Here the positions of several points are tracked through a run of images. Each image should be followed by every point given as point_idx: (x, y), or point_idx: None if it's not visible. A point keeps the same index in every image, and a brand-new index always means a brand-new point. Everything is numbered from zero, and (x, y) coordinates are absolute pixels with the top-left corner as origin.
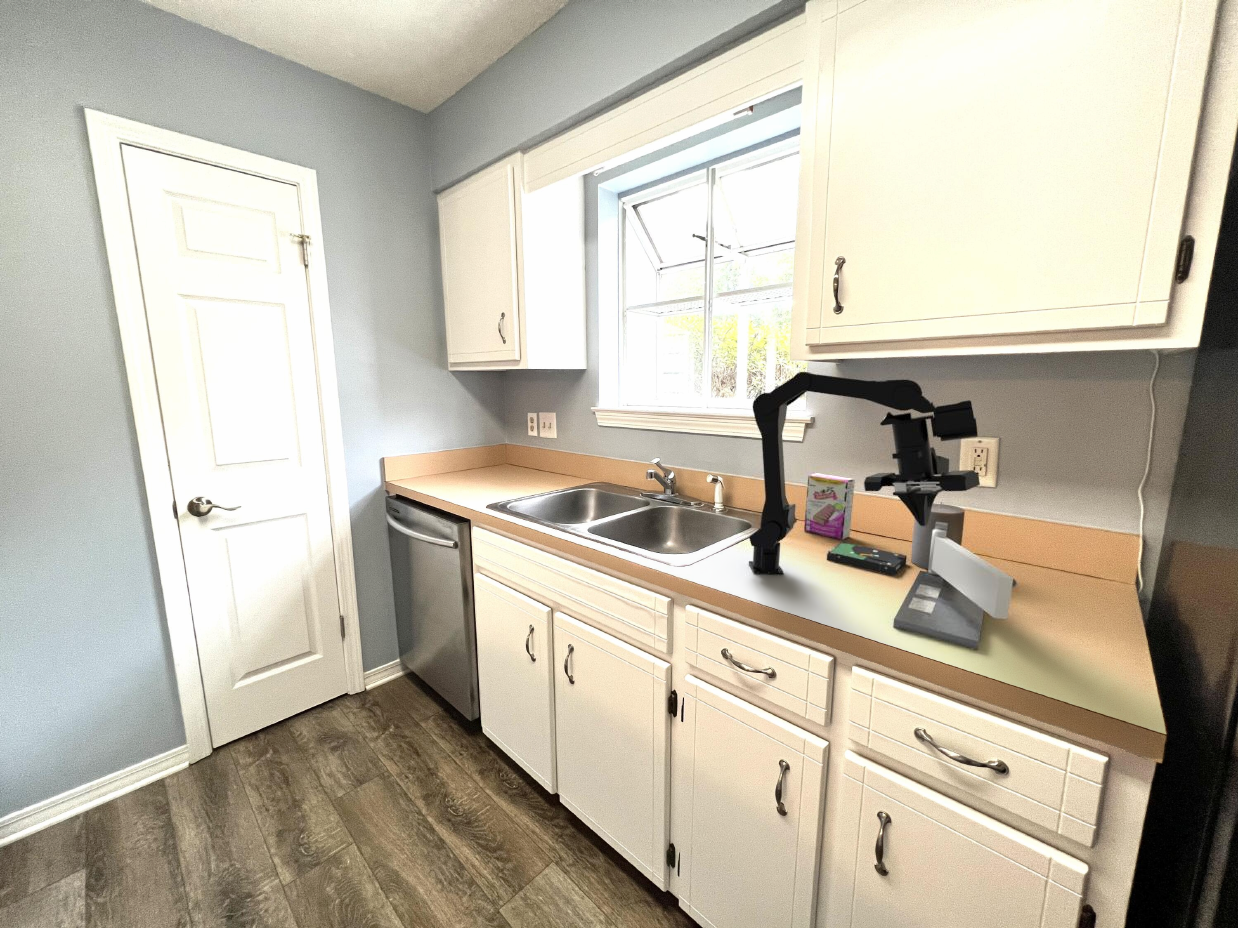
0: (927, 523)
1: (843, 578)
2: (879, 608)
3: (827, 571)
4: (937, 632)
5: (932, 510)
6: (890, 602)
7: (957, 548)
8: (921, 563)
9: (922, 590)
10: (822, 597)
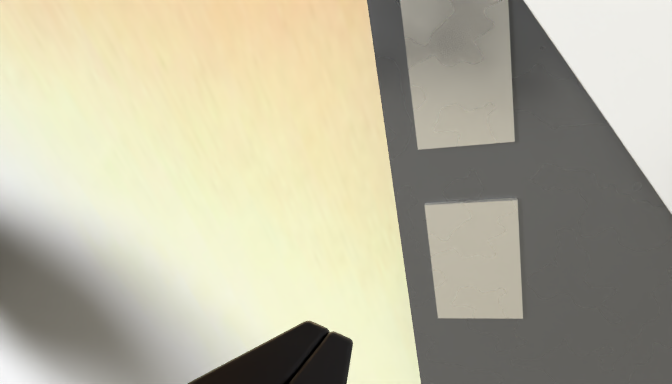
0: (351, 350)
1: (115, 94)
2: (344, 291)
3: (31, 62)
4: None
5: None
6: (352, 213)
7: (647, 116)
8: None
9: (434, 88)
10: (180, 320)
